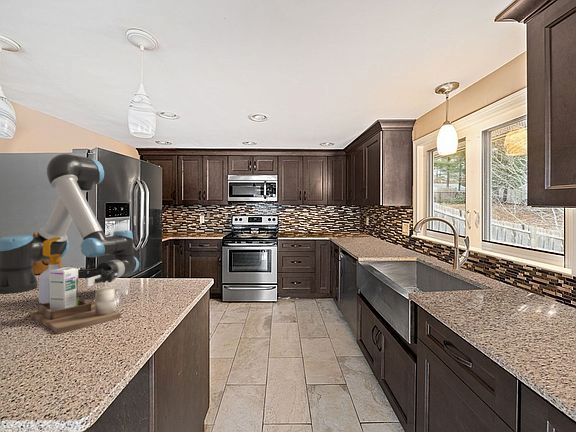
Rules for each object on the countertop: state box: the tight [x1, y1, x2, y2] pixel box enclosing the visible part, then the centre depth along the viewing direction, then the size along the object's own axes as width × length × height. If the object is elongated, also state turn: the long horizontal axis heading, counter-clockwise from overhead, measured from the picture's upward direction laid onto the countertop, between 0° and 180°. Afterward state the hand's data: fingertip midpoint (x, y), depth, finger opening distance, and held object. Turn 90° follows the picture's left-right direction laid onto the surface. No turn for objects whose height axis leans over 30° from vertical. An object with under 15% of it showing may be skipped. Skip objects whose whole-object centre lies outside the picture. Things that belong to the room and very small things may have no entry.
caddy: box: [28, 286, 122, 335], centre depth 108 cm, size 25×18×10 cm
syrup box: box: [50, 267, 79, 311], centre depth 108 cm, size 6×6×14 cm
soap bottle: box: [38, 237, 64, 304], centre depth 124 cm, size 9×9×25 cm
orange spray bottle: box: [32, 232, 62, 275], centre depth 171 cm, size 10×12×22 cm
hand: (68, 281), depth 109 cm, fingers open, 13 cm apart
